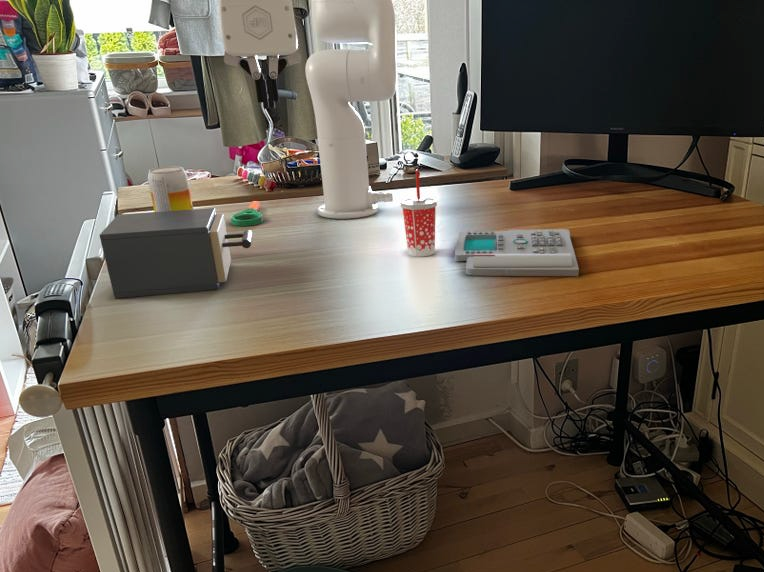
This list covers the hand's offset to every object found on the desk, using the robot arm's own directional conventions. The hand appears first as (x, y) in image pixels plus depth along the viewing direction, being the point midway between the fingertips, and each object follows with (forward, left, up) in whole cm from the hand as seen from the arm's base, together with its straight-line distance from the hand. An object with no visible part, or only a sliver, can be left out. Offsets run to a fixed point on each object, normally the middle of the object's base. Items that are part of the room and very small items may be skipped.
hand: (269, 107), depth 107 cm
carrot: (+8, -40, -25) cm, 48 cm away
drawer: (+14, 0, -24) cm, 28 cm away
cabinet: (+18, 0, -25) cm, 31 cm away
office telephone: (-37, +2, -25) cm, 45 cm away
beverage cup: (-22, -4, -25) cm, 34 cm away
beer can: (+18, -13, -25) cm, 34 cm away
